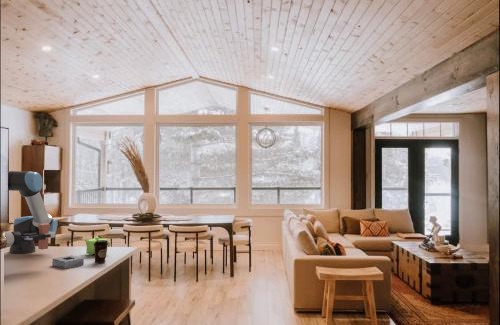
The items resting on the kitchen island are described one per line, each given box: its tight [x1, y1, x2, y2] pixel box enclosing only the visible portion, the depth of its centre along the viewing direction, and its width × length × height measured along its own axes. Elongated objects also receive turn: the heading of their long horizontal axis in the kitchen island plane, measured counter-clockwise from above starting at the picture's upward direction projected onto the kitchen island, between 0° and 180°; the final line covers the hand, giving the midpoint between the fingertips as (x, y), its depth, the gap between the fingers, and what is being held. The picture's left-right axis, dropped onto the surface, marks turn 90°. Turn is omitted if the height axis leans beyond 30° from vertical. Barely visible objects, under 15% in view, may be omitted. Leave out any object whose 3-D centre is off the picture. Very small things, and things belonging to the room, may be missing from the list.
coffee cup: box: [93, 239, 109, 264], centre depth 244 cm, size 9×8×13 cm
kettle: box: [83, 236, 110, 256], centre depth 265 cm, size 15×14×11 cm
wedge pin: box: [37, 223, 50, 250], centre depth 227 cm, size 4×5×14 cm
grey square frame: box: [51, 255, 85, 270], centre depth 233 cm, size 12×12×4 cm
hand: (52, 234), depth 232 cm, fingers closed on wedge pin, 4 cm apart
